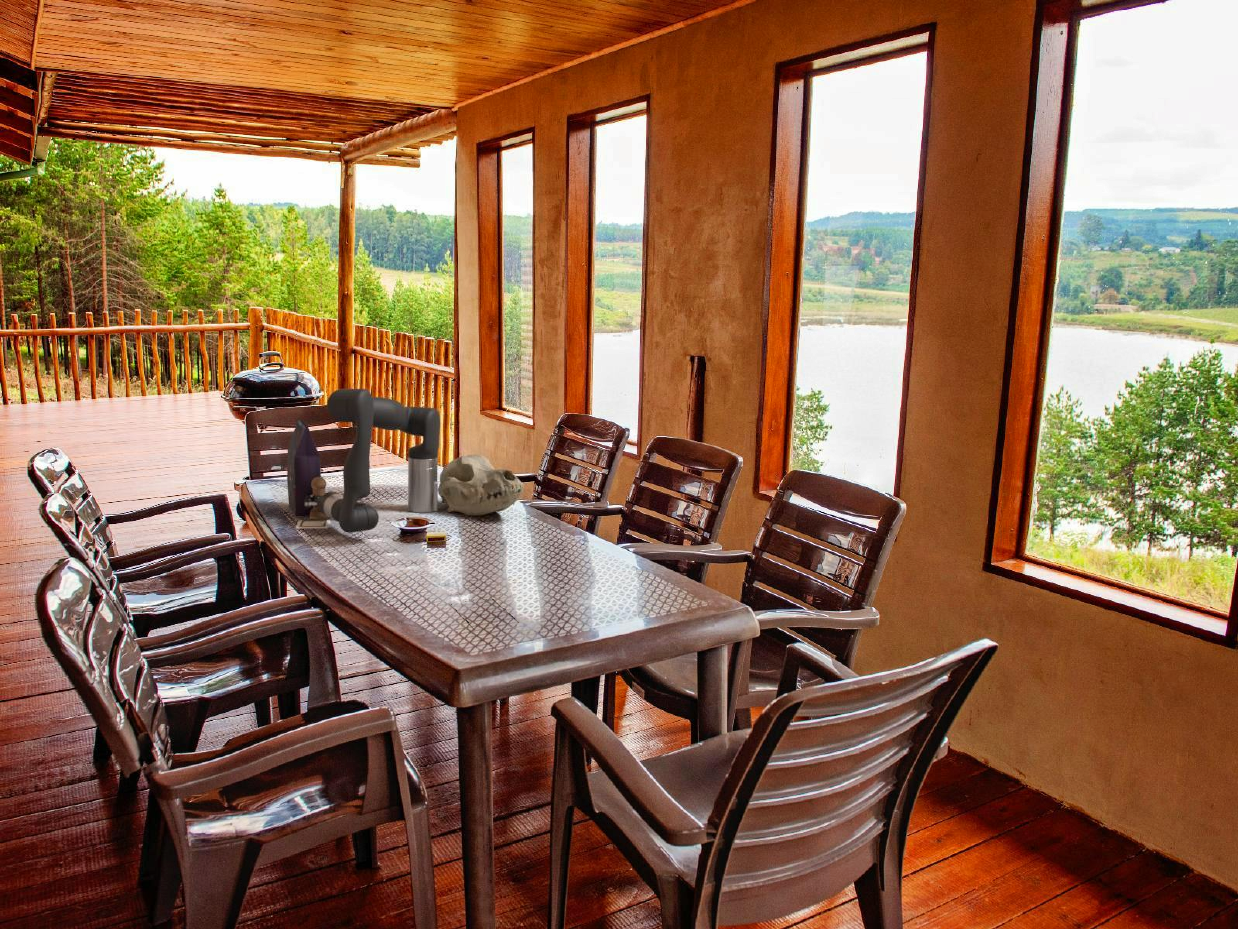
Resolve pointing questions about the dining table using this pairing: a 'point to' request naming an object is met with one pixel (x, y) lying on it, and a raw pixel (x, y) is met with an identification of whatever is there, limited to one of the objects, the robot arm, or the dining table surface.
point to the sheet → (313, 524)
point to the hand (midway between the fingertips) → (315, 495)
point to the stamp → (318, 489)
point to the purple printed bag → (301, 468)
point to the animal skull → (477, 486)
